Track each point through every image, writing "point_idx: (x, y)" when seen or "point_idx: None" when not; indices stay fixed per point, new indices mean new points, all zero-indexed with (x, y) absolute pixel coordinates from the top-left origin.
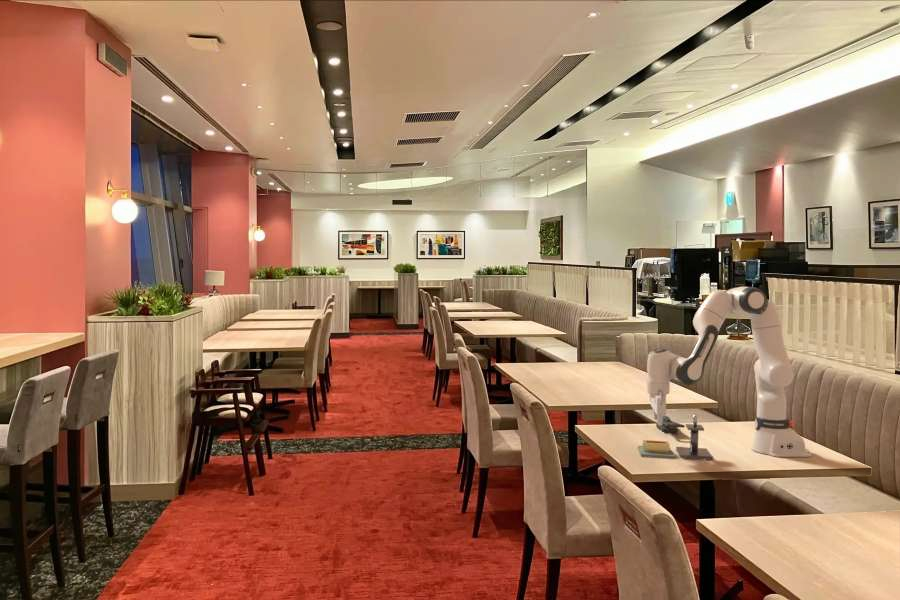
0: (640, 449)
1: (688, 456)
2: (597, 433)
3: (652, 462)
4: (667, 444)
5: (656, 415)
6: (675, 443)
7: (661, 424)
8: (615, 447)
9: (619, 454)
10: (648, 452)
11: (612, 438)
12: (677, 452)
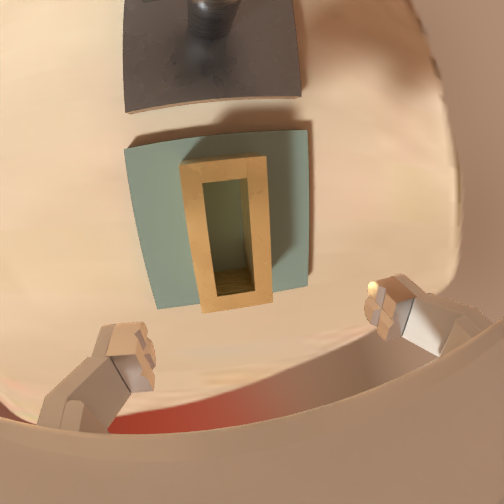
0: None
1: (296, 61)
2: None
3: (375, 234)
4: (266, 169)
5: (141, 376)
6: (9, 135)
7: (402, 279)
8: (193, 370)
9: (289, 349)
10: (273, 257)
11: None
12: (179, 105)
